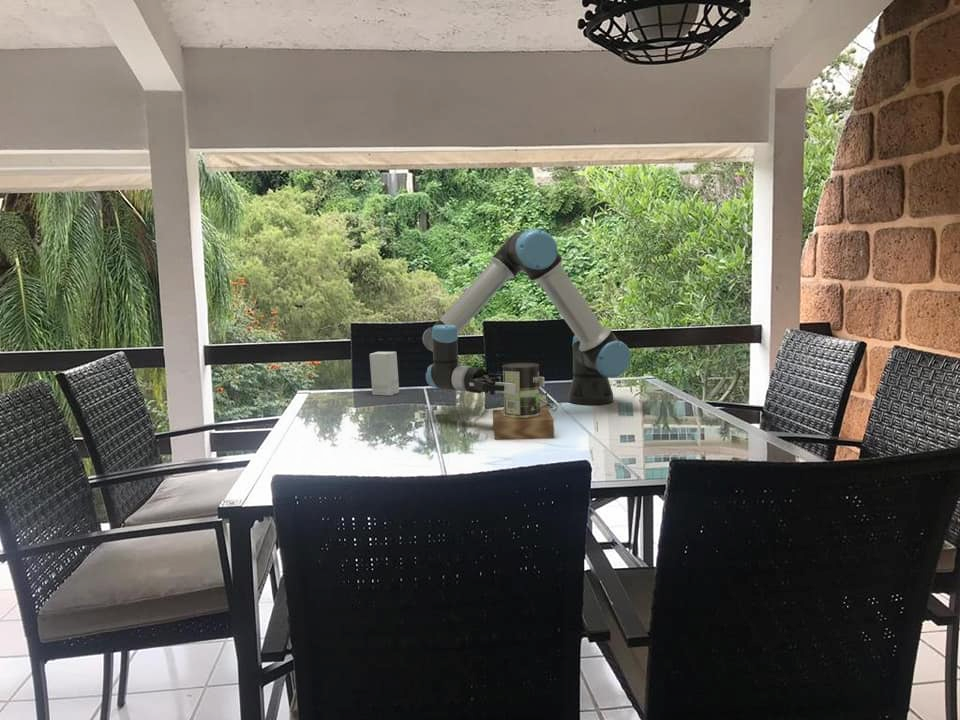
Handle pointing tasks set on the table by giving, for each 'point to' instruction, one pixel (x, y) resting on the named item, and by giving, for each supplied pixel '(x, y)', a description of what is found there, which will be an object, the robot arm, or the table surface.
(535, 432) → the teak block
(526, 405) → the coffee can
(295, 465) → the table surface
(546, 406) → the game die
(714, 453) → the table surface
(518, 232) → the robot arm
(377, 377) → the skincare box
